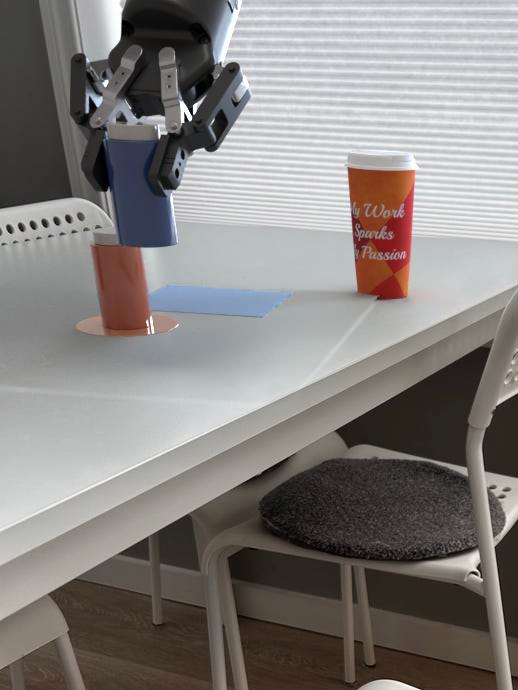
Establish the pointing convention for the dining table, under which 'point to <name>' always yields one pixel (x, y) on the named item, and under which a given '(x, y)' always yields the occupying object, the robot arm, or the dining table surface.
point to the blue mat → (216, 300)
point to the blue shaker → (137, 187)
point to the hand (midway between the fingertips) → (126, 185)
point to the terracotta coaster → (96, 328)
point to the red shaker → (120, 282)
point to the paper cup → (382, 219)
